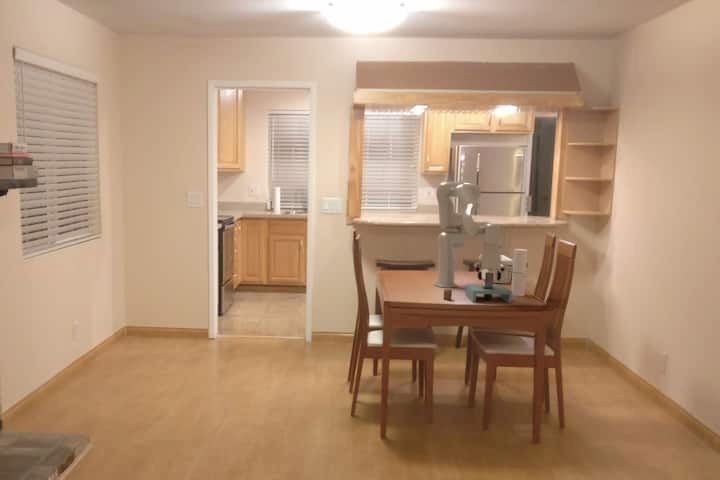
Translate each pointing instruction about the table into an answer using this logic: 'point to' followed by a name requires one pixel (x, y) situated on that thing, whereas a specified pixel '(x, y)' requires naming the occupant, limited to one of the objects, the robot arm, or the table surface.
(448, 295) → the short pin
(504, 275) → the storage basket
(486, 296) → the long pin
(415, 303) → the table surface
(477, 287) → the bridge
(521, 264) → the cylindrical container
